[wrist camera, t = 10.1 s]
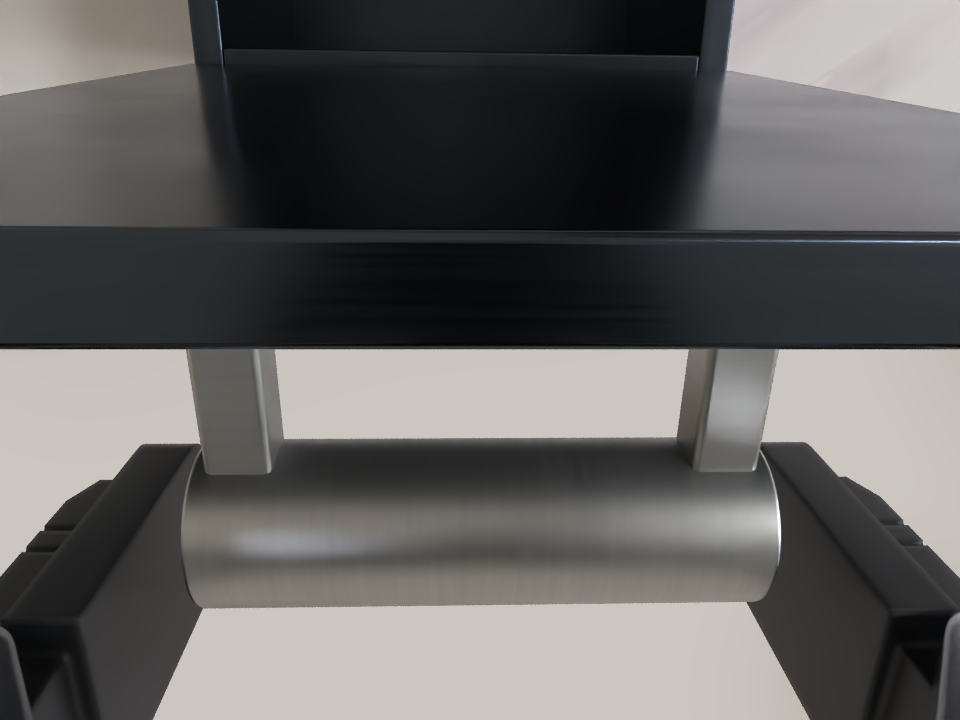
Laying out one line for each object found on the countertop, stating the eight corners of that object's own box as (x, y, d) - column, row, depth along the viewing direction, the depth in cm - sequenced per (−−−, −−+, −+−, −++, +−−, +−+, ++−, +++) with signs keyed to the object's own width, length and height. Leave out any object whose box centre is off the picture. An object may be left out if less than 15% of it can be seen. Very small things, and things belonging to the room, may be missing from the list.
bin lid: (-780, 224, 4) (-396, 800, 6) (1650, 237, 5) (1306, 764, 7) (188, 63, 20) (211, 240, 22) (732, 70, 21) (708, 243, 23)
